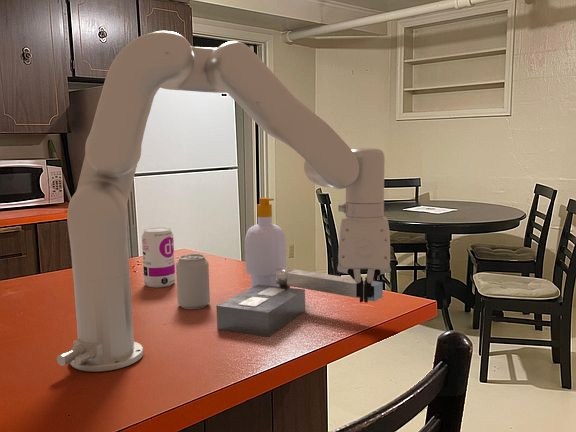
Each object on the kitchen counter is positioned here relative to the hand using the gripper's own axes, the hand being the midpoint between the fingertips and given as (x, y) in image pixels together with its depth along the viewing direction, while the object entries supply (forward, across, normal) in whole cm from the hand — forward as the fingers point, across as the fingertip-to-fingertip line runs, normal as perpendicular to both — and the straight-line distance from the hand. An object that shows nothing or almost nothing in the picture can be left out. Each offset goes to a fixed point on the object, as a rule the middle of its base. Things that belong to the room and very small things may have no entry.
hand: (363, 300), depth 114 cm
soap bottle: (+6, -24, +25) cm, 35 cm away
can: (+6, -40, +13) cm, 42 cm away
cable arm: (+1, -8, +9) cm, 12 cm away
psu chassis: (+6, -21, +6) cm, 22 cm away
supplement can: (+6, -54, +32) cm, 63 cm away
